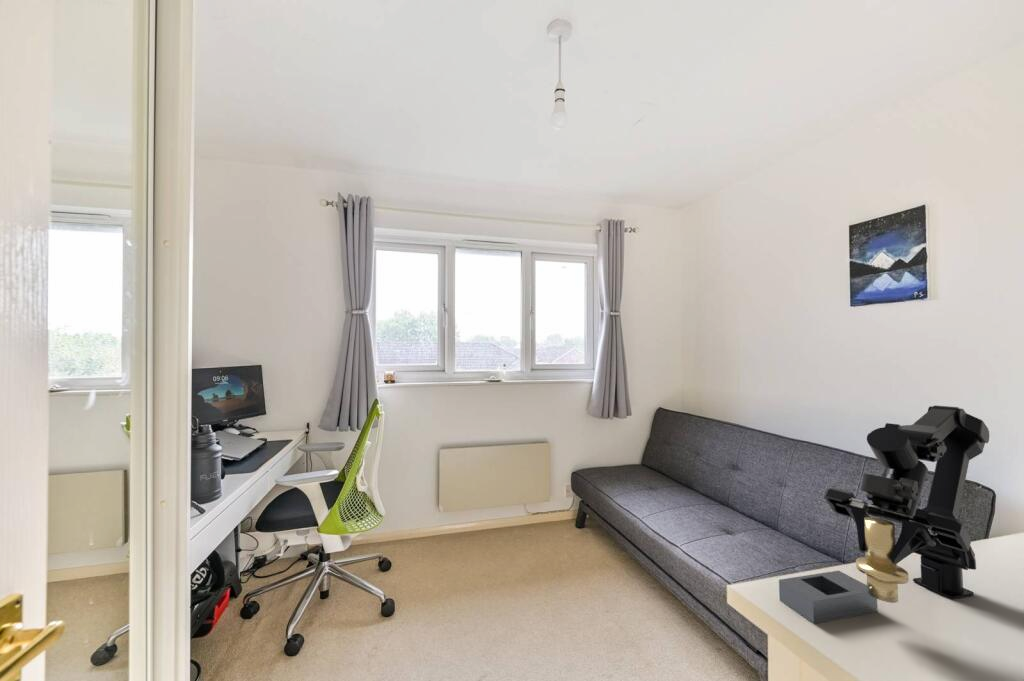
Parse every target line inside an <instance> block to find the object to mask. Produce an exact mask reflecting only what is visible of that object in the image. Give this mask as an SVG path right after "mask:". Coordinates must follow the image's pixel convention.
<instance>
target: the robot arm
mask: <svg viewBox="0 0 1024 681" xmlns="http://www.w3.org/2000/svg"><path fill="white" fill-rule="evenodd" d="M866 442H867V444H868V445H869V447H870V448H871V451H872V453H873V454H874V456H875V458H876V459H877V461H878V463H879V464H880V465H882V466H883V470H882V472H881V476H880V475H876V474H870V473H862V481H861V486H860V490H861V491H862V492H866V495H865V497H866V499H867V500H868V501H871V504H870V503H867V502H866V501H864V500H861V499H858V498H856V496H855V495H854V492H851V491H846V490H843V489H838V488H835V487H829V488H828V489H827V490H826V491H825V493H824V496H823V497H824V499H825V501H826V502H827V504H828V505H829V507H830V508H831V510H832V511H833V513H836V514H837V515H840V516H844V517H846V518H851V519H852V520H853V522H854V523H855V525H856V526H855V527H856V532H857V540H858V548H859V549H858V550H859V552H860V553H863V554H865V553H866V550H865V528H864V518H865V517H875V518H881V519H884V520H888V521H890V522H893V523H897V524H901V531H900V534H899V536H898V538H897V540H896V545H895V548H894V550H893V553H892V557H891V561H892V563H893V564H899V563H900V562H901V561H903V560H904V559H905V558H907V557H908V556H911V554H913V553H914V554H916V555H920V577H913V579H912V581H913V582H914V583H915V584H919V585H920V586H921V587H924V586H925V588H926V587H927V589H929V590H930V591H933V592H936V593H937V594H940V595H941V596H944V597H946V598H948V599H953V600H955V599H958V598H963V597H964V598H966V597H970V596H974V592H973V591H972V590H970V589H967V588H964V578H963V570H965V571H968V570H974V571H975V570H977V560H976V554H975V552H974V549H973V547H972V546H971V544H972V542H971V541H972V540H971V535H970V534H969V533H968V530H967V528H966V526H965V525H964V523H963V522H962V521H961V520H960V519H959V515H960V509H961V503H962V498H963V495H964V494H963V493H964V488H965V484H966V479H967V474H968V467H969V463H970V460H973V459H974V458H976V457H977V456H979V455H981V454H982V453H983V452H984V448H985V445H986V444H988V443H989V442H990V431H989V428H988V426H987V425H986V423H985V422H984V421H983V420H982V419H980V418H979V417H976V416H973V415H971V414H969V413H967V412H966V411H965V409H964V408H960V407H957V406H947V405H946V406H945V405H935V404H934V405H933V406H929V407H928V409H927V412H926V413H924V414H923V415H922V416H921V417H920V418H919V419H918V420H916V421H915V422H914V423H912V424H907V425H901V424H896V423H887V422H886V423H885V424H884V426H883V427H879V428H878V427H877V428H876V429H874V430H871V431H870V432H869V433H868V434H867V435H866ZM924 461H925V462H932V463H935V462H936V464H935V467H934V473H933V476H932V480H931V486H930V489H929V490H930V491H929V494H928V499H927V502H926V506H924V507H923V508H919V507H921V505H922V502H923V501H922V499H921V496H922V492H923V488H924V485H925V483H926V482H927V481H928V473H929V468H928V467H927V466H926V464H925V463H924Z"/></svg>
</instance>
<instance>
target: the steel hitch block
mask: <svg viewBox="0 0 1024 681" xmlns="http://www.w3.org/2000/svg"><path fill="white" fill-rule="evenodd" d="M778 589H779V590H778V592H779V597H778V598H779V601H780V602H782V603H783V604H784V605H786V606H787V607H788V608H790V609H791V610H793V611H795V612H796V613H797V614H799V615H800V616H801V617H804V618H805V619H806V620H808V621H809V622H810V623H812V624H819V623H826V622H831V621H836V620H842V619H846V618H847V619H848V618H851V617H857V616H863V615H867V614H874V613H878V599H876V598H874V597H873V596H871V595H870V594H869V593H868V592H867V584H865V583H863V582H862V581H859V580H857V579H856V578H854V577H852V576H850V575H849V574H847V573H846V574H845V573H844V572H842V571H840V570H833V571H826V572H821V573H814V574H809V575H808V574H806V575H801V576H796V577H787V578H781V579H778ZM873 612H874V613H873Z"/></svg>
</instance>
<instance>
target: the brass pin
mask: <svg viewBox="0 0 1024 681" xmlns="http://www.w3.org/2000/svg"><path fill="white" fill-rule="evenodd" d="M895 527H896V525H895V522H893V521H890V520H886V519H883V518H879V517H876V516H872V517H865V518H864V528H865V550H866V551H865V556H862V557H857V558H856V559H855V568H856V569H857V570H858V571H859V572H860V573H862V574H863V575H866V585H867V592H868V593H869V594H870V595H871V596H873V597H874V598H876V599H877V600H879V601H882V602H886V603H890V604H891V603H892V604H895V603H896V604H897V603H898V602H899V587H898V586H899V585H903V584H907V583H909V581H910V580H909V572H908V571H907V570H906V569H904V568H903V567H902V566H899V565H897V564H898V563H897V564H893V563H892V561H891V557H892V553H893V550H894V548H895V545H896V543H897V541H896V528H895Z"/></svg>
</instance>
